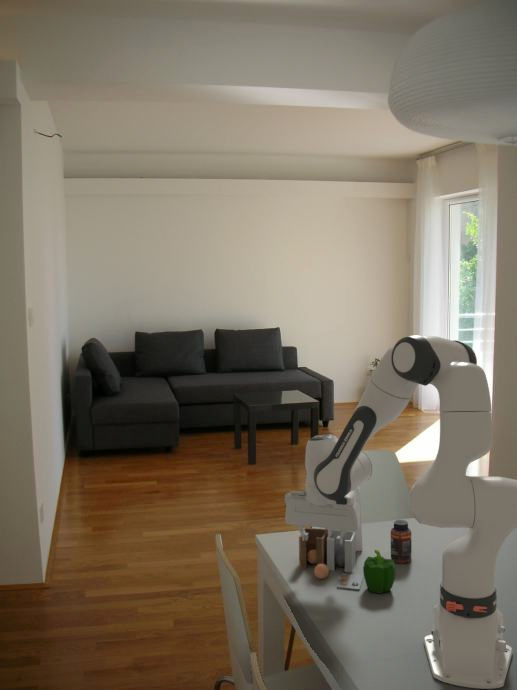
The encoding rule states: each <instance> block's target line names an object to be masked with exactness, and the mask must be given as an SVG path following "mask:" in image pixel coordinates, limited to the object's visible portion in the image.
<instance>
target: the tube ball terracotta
mask: <svg viewBox="0 0 517 690" xmlns="http://www.w3.org/2000/svg"><path fill="white" fill-rule="evenodd" d="M307 561H308V562H309V563H310V564H314V565H315V564H316V565H317V554H316V550H315V549H312V550H310V551H309V552H308V553H307Z"/></svg>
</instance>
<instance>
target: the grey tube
mask: <svg viewBox="0 0 517 690" xmlns="http://www.w3.org/2000/svg"><path fill="white" fill-rule="evenodd" d="M341 534H342V533H340V531H339V530H331V531H330V534H329V536H328V538H327V563H326V566H327V567H328V569H329V571H335V560H334V558H335V555H336V554H337V553H338V552H344V553H345V566H344V572H346V573H353V571H354V568H355V565H356V561H357V559H356V558H357V557H356V554H357V551H356V536H355V532H350V531H346V533H345V535H344V536H343V543H342V545H341V544H336V542H337V541H336V538H337V536H341Z"/></svg>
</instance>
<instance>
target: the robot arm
mask: <svg viewBox="0 0 517 690" xmlns="http://www.w3.org/2000/svg"><path fill="white" fill-rule="evenodd" d="M476 355H477V354H476V352H475V351H474V350H473V348H472V347H471V346H470V345H469V344H466V343H464V342H462V341H459V340H455V339H454V340H452V339H448V338H442V337H440V336H435V335H434V336H433V335H431V336H430V335H419V334H415V335H414V334H413V335H408V336H404V337H402V338H400V339H399V340H397V342H395V344H394V345H392V346H390V347H389V348H388V349H387V351H386V352H385V353H384V355H382V357H381V358H380V360H379V362H378V364H377V365H376V367H375V369H374V370H373V372H372V375H371V376H370V378H369V380H368V382H367V384H366V387H365V388H364V391H363V393H362V395H361V398H360V400H359V402H358V403H357V406H356V407H355V410H354V411H353V413H352V415H351V417H350V419H349V420H348V422H347V423H346V425H345V427H344V429H343V430H342V432H341V434H340V436H339V438H338V437H337V436H336V435H334V434H332V433H331V434H330V433H322V434H317V435H315V436H312V437H310V438H309V439H308V440H307V443H306V447H305V458H304V461H305V462H304V463H305V465H304V466H305V467H304V468H305V471H306V478H305V491H304V490H303V491H301V490H300V491H299V490H297V491H296V490H290V491H289V492H286V493H285V495H284V504H285V505H286V506H285V507H286V508H285V516H284V518H285V519H284V521H285V522H286V524H287V525H290V526H297V529H298V532H299V534H302V541H308V540H309V533H306V532H305V530H304V528H305V527H310V528H320V527H321V528H332V529H340V533H342V534H341V536H337V538H336V541H337V542H336V544H341V545H342V543H343V536H344V535H345V533H346V531H347V530H352V531H355V530H357V529H358V527H359V525H360V516H359V508H358V505H357V503H356V501H355V500H354V499H355V492H354V491H353V490H354V489H356V488H358V487H359V488H360V487H361V486H362V485H364V484H365V483H366V482H368V481H369V480H371V479H370V478H371V477H372V475H373V465H372V462H371V460H370V458H369V457H368V455H367V454H366V453H365V452H363V450H364V448H365V446H366V445H367V443H368V442H369V441H370V440H371V438H372V437H373V436H374V435H375V434H377V433H378V432H379V431H380V430H382V429H383V428H385V427H387V425H389V424H391V423H393V422H394V421H395V420H397V418H399V416H400V415H402V413H403V412H404V410H405V409H406V408H407V406H408V404H409V403H410V401H411V399H412V397H413V395H414V393H415V391H416V389H417V386H418V385H422V386H424V387H426V386H429V385H432V386H433V387H434V388H435V389H436V390H437V392H438V397H439V398H438V399H439V442H438V443H439V444H438V450H437V454H436V456H435V459H434V461H433V463H432V465H431V466H430V467H429V469H428V470H427V471H426V472H425V474H424V475H422V476H421V477H420V478H419V479H417V480H416V481H415V482H414V484H412V486H411V488H410V490H409V493H408V499H407V500H408V507H409V510H410V513H411V516H413V518H414V519H415V521H417V522H418V523H419V524H422V525H426V526H430V527H434V528H435V527H436V528H440V529H441V528H443V529H444V528H445V529H446V528H447V529H452V528H453V529H455V528H456V529H460V528H461V529H467V531H466V532H465V534H463V535H462V536H461V537H459V538H456V539H454V540H453V541H451V542H450V543H449V544H448V545H447V546H446V548H444V550H443V553H442V562H441V563H442V565H441V567H442V571H441V572H442V574H441V577H442V578H441V579H442V580H441V582H440V585H439V586H440V587H439V602H438V603H437V604H435V606H433V608H432V609H433V611H432V612H433V614H432V615H433V617H432V629H431V634H428V635H426V636H424V637H423V646H424V648H425V652H426V656H427V660H428V663H429V666H430V667H429V668H430V670H431V674H432V677H433V678H434V679H436V680H438V681H441V682H442V683H445V684H446V683H447V684H450V685H453V686H458V687H462V688H463V687H464V688H469V689H470V688H471V689H481V690H484V689H486V690H493V689H499V688H502V687H504V686H505V681H506V678H507V674H508V670H509V667H510V663H511V659H512V656H513V648H512V646H510V645H508V644H507V641H506V640H504V636H503V634H505V631H506V630H505V629H506V627H505V626H504V615H503V613H501V611H500V610H499V609H498V607H497V602H498V595H497V589H496V587H495V586H496V585H495V584H496V583H495V580H496V566H497V558H498V555H499V552H500V551H501V547H502V545H503V544H504V542H505V541H506V539H507V538H508V537H509V536H510V535H511V534H512V533H513V532H514V531H516V529H517V479H514V478H509V477H504V476H498V475H497V476H496V475H495V476H485V475H484V476H482V475H481V476H478V475H477V476H476V475H475V476H473V475H470V476H469V475H467V469H468V467H469V465H470V464H471V463H473V462H474V461H477V460H479V459H480V458H483V457H484V456H486V455H487V454H488V453H489V452H490V451H491V450H492V447H493V445H494V434H493V433H494V432H493V416H492V414H493V413H492V412H493V411H492V400H491V394H490V393H491V392H490V387H489V382H488V378H487V374H486V372H485V371H484V369H483V368H482V367H481V366H480V365H478V362H477V360H478V359H477V356H476Z"/></svg>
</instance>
